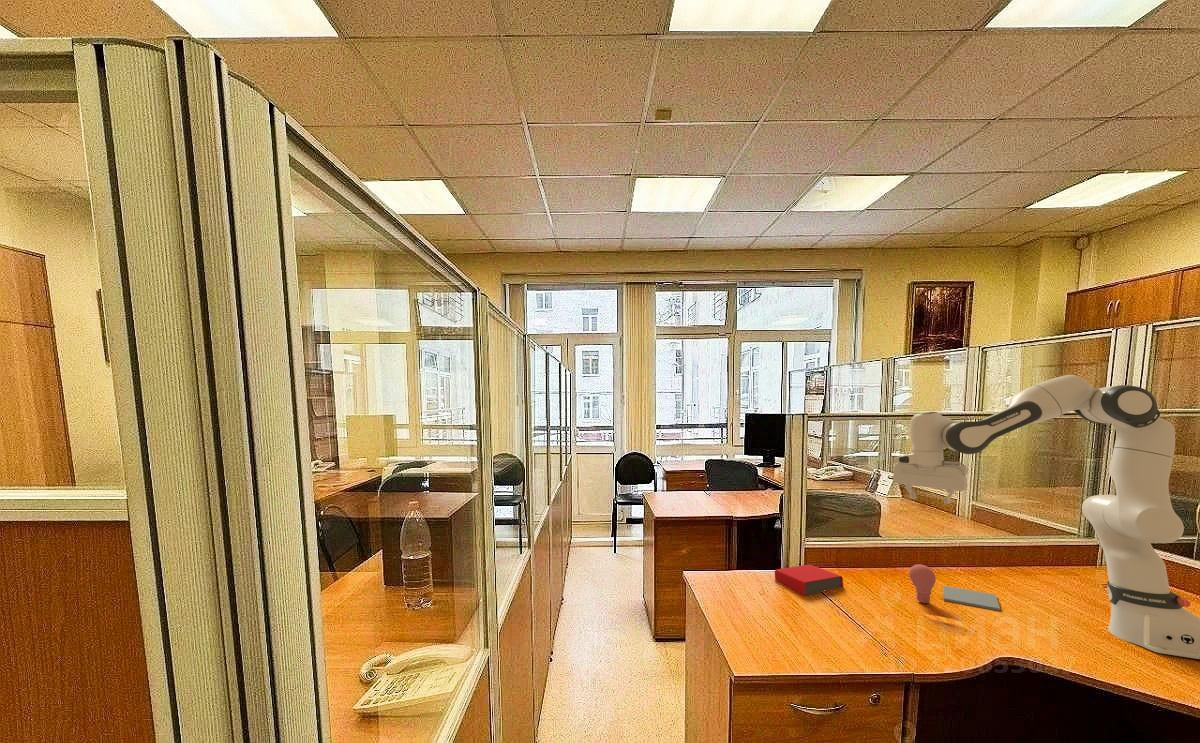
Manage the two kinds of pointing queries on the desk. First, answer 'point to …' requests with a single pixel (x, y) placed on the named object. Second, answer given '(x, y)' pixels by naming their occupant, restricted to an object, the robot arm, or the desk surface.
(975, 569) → the desk surface
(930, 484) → the robot arm
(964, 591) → the mat
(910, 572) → the light bulb
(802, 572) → the red device housing
